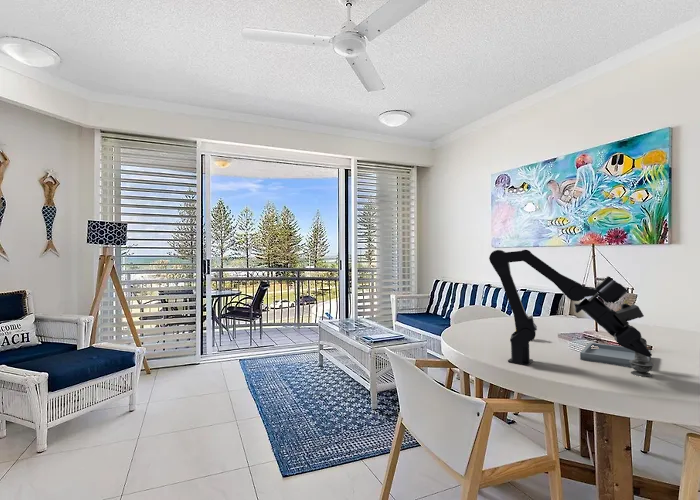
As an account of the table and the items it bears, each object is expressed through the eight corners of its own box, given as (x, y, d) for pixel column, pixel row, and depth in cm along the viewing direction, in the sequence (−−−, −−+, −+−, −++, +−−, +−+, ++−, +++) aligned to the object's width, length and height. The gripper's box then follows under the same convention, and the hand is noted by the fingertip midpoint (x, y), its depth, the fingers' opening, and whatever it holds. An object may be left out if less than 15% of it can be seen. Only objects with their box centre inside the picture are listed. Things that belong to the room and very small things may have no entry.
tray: (647, 370, 115) (646, 362, 115) (580, 359, 127) (580, 352, 127) (650, 357, 128) (650, 350, 128) (590, 349, 140) (589, 342, 140)
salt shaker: (645, 371, 114) (644, 332, 114) (659, 377, 108) (658, 337, 108) (624, 371, 114) (623, 332, 114) (637, 377, 108) (636, 336, 108)
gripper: (630, 299, 105) (681, 341, 100) (616, 292, 121) (659, 328, 116) (597, 325, 108) (646, 367, 103) (588, 315, 125) (629, 351, 120)
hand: (646, 352), depth 110 cm, fingers open, 9 cm apart
